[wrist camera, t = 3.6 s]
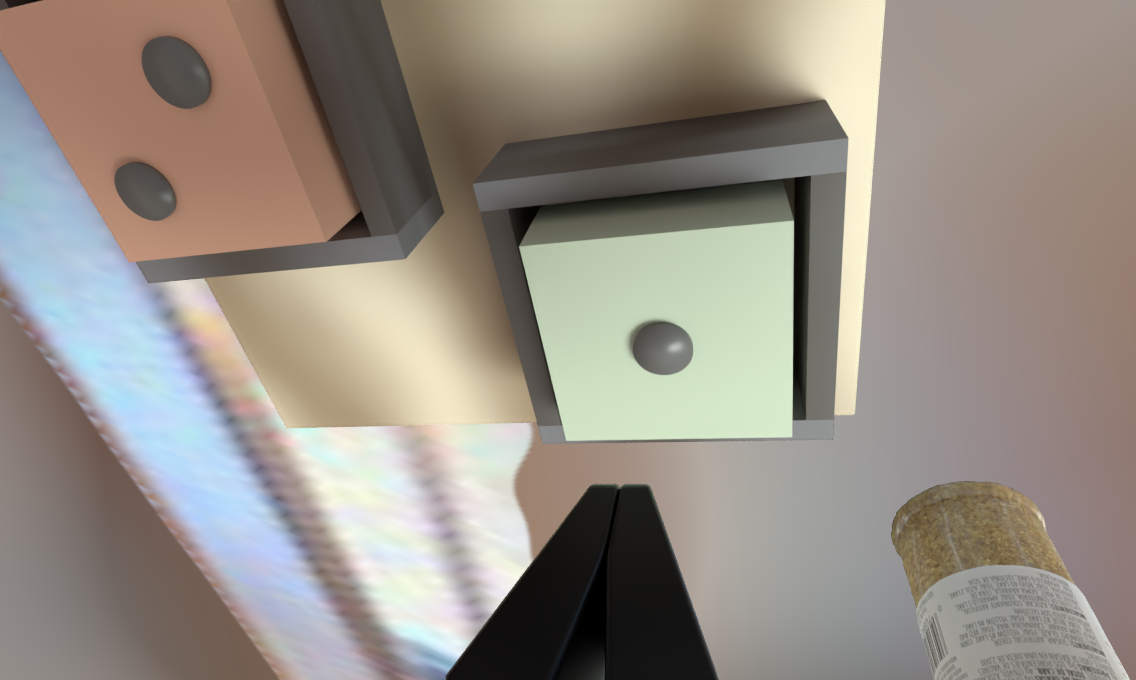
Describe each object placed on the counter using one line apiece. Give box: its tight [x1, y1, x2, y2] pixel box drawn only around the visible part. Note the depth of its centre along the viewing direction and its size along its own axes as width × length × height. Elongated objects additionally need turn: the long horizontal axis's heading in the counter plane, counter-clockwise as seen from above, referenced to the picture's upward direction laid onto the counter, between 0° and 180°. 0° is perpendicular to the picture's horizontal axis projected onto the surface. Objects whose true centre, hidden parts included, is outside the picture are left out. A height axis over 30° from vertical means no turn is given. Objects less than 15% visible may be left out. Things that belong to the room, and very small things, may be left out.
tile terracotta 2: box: [0, 0, 361, 262], centre depth 13 cm, size 5×5×2 cm
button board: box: [0, 0, 885, 444], centre depth 14 cm, size 18×21×5 cm
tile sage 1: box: [519, 180, 794, 441], centre depth 14 cm, size 5×5×2 cm
